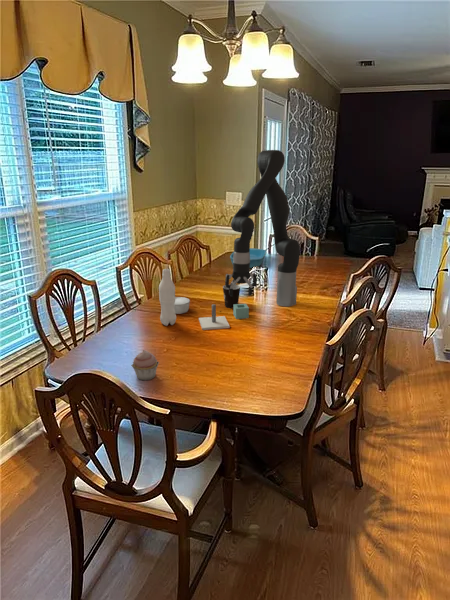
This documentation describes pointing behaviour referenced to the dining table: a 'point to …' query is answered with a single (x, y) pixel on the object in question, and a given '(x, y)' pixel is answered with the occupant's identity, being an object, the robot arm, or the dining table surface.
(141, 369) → the cupcake
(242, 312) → the collar
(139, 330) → the dining table surface
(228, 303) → the coffee mug
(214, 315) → the post stand
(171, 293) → the water bottle
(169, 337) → the dining table surface
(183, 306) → the ramekin
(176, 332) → the dining table surface
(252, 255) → the casserole dish
